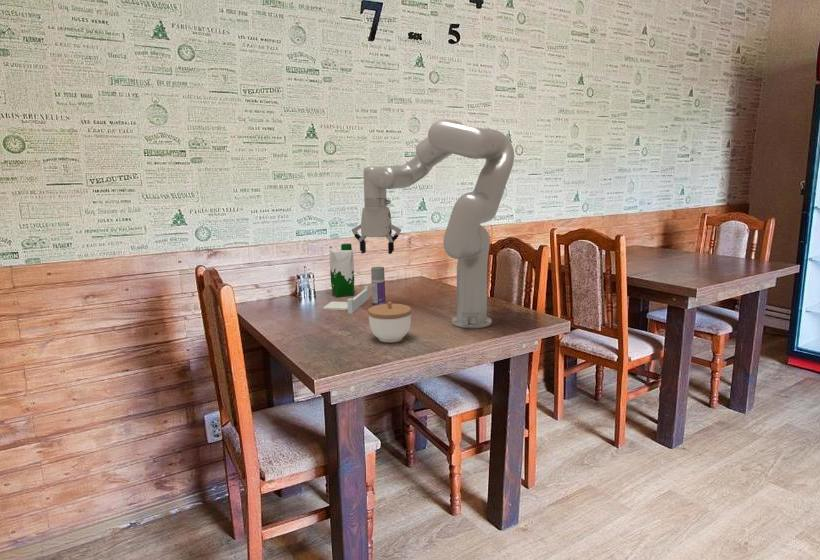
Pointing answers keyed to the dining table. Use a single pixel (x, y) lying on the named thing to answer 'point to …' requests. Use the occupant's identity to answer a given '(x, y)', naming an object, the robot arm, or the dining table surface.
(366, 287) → the acrylic wall
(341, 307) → the white pad
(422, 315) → the dining table surface
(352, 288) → the milk carton
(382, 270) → the container
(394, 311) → the lidded bowl
